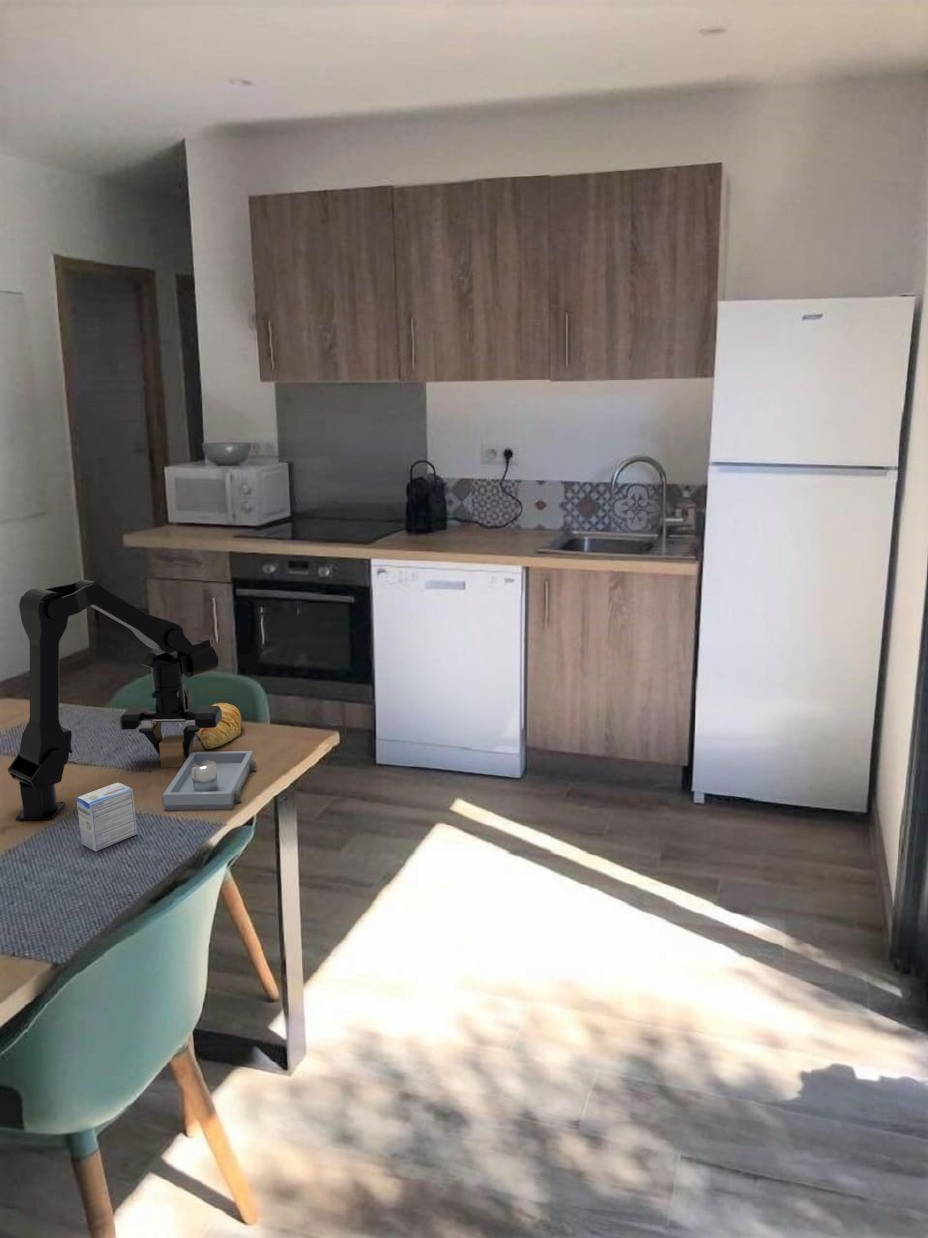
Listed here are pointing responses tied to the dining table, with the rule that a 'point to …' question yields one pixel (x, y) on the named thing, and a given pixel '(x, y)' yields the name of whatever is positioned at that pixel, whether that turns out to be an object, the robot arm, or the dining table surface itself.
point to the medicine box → (106, 816)
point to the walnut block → (172, 751)
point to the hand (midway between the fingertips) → (175, 757)
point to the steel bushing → (204, 776)
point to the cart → (229, 774)
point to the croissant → (222, 727)
